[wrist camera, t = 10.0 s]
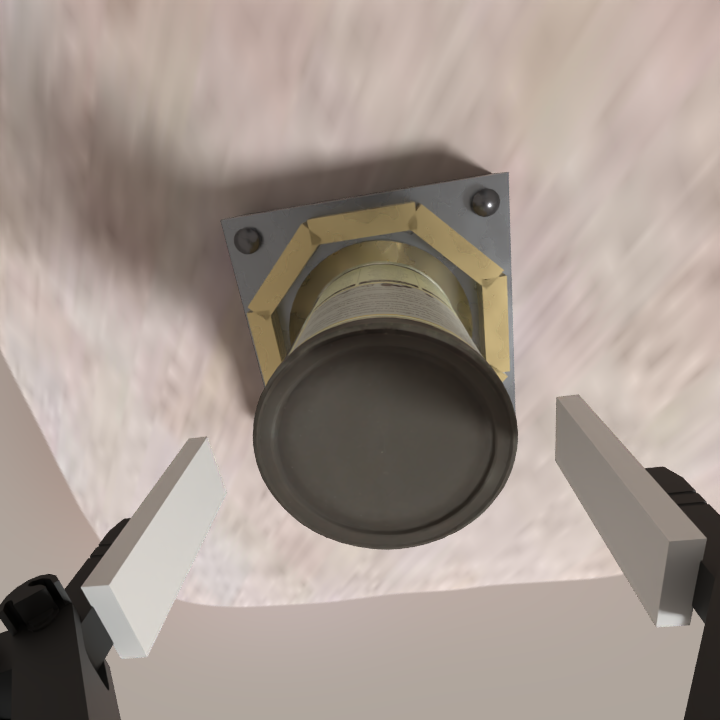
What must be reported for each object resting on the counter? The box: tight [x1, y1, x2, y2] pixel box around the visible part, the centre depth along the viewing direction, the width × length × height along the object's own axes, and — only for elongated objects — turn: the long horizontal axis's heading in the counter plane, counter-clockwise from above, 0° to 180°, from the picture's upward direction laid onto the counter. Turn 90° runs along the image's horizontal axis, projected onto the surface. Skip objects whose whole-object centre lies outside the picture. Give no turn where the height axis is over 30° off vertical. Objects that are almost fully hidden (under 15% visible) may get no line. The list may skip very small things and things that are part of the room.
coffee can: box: [253, 261, 518, 550], centre depth 23 cm, size 10×10×14 cm
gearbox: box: [221, 172, 515, 411], centre depth 31 cm, size 18×18×6 cm
